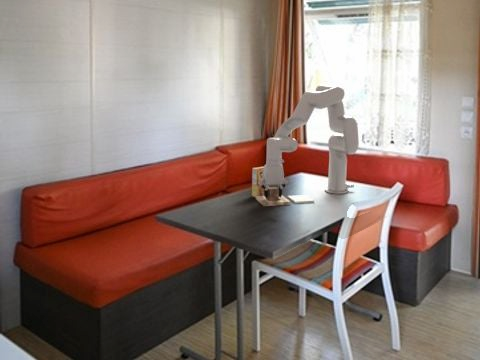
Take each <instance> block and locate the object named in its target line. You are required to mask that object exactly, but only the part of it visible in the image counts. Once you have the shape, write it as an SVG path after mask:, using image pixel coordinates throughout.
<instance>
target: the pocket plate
mask: <svg viewBox="0 0 480 360" xmlns="http://www.w3.org/2000/svg"><path fill="white" fill-rule="evenodd" d="M255 200H256V201H257V202H258V203H259V204H261V205H262V207H270V206H271V207H272V206H274V207H276V206H289V205H291V204H292V203H291V202H292V201H291V200H290V199H289V198H286V197H285V196H284V195H283V194H282V195H281V197H279V200H276V201H268V200H267V198H266V197H265V196H256V197H255Z"/></svg>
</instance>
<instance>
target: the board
mask: <svg viewBox="0 0 480 360" xmlns="http://www.w3.org/2000/svg"><path fill="white" fill-rule="evenodd" d="M287 199H288V200H289V201H290V202H293V203H294V204H295V205H296V204H312V203H315V200H314V199H312V198H311V197H309V196H308V195H307V194H300V195H299V194H295V195H287Z"/></svg>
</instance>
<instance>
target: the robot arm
mask: <svg viewBox="0 0 480 360" xmlns="http://www.w3.org/2000/svg"><path fill="white" fill-rule="evenodd" d="M344 98H345V90H344V88H343V87H342V86H340V85H334V84H319V85H317V86H316V88H315V90H307V91H305V92H304V93H303V94H302V96H300V99H299V101H298V103H297V105H296V107H295V109H294V111H293V113H292V115H291V116H289V118H287V119H286V120H285V121H283V123H282V124H281V125H280V126H279V127H278V128H277V130H276V132H275V134H274V135H273V137H268V138H267V140H266V157H265V158H266V159H265V160H266V162H265V163H266V164H264V171H263V178H262V179H261V180H260V181H259V182H258V184H259V185H260V186H261V187H262V188H263V189H264V196H265V197H266V198H268V190H267V189H268V187H269V188H270V186H278V187H277V188H278V189H279V197H281V195H283V189H284V188H285V187H286V185H287V184H289V181H288V180H287V179H286V178H285V177H284V176H285V173H284V166H283V163H285V160H284V159H282V158H283V157H282V156H283V155H282V153H292V152H295V151H297V149H298V147H299V146H298V141H297V140H296V139H295V138H294V137H291V136H289V135H290V134H291V133H292V132H293V131H294V130H295V129H298V128H300V127H302V126H304V125H306V124H308V122H309V120H310V118H311V116H312V114H313V113H314V110H315V109H316V110H323V109H326V108H327V116H328V125H329V129H330V131H332V132H334V133H335V134H332V135H331V136H330V137H329V139H328V140H327V141H328V143H327V145H328V146H327V147H328V156H329V161H328V180H327V181H328V182H327V187H325V188H324V191H325V192H326V193H329V194H334V195H335V194H336V195H337V194H338V195H341V194H342V195H343V194H347V193H348V192H349V189H351V188H354V187H355V185H354V183H352V184H351V183H347V165H348V158H347V155H354V154H355V153H357V151H358V150H359V149H358V148H359V143H360V142H359V128H358V122H357V120H356V119H355V118H354V117H353V116H350V115H346V112H345V106H344V102H343V99H344ZM262 183H265V185H263V184H262Z"/></svg>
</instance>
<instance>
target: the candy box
mask: <svg viewBox="0 0 480 360" xmlns="http://www.w3.org/2000/svg"><path fill="white" fill-rule="evenodd" d="M264 166H265V165H264ZM264 166H258V167H252V172H251V173H252V176H251V178H252V179H251V180H252V181H251V196H252V197H254V198H256V196H264V189H263V188H262V187H261V186H260V185H259V184H258V182H259V181H260V180H261V179H262V178H263V171H264ZM262 184H263V185H265V183H262ZM268 188H270V186H269V187H268ZM267 190H268V189H267Z"/></svg>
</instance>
